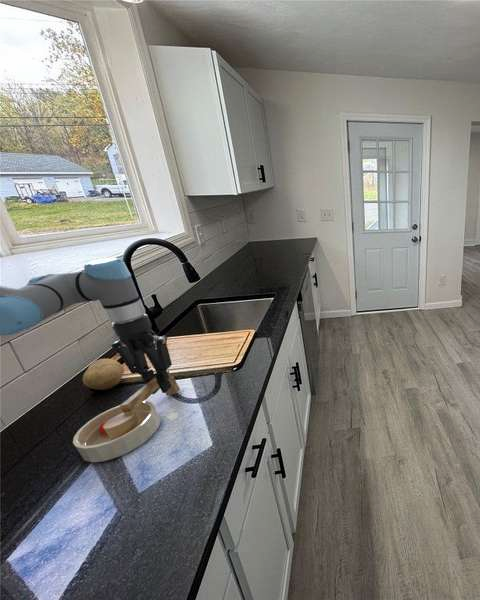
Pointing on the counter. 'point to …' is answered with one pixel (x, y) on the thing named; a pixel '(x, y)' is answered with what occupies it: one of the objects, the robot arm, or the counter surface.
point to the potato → (103, 374)
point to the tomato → (103, 428)
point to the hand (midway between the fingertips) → (161, 390)
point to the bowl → (103, 448)
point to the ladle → (129, 416)
